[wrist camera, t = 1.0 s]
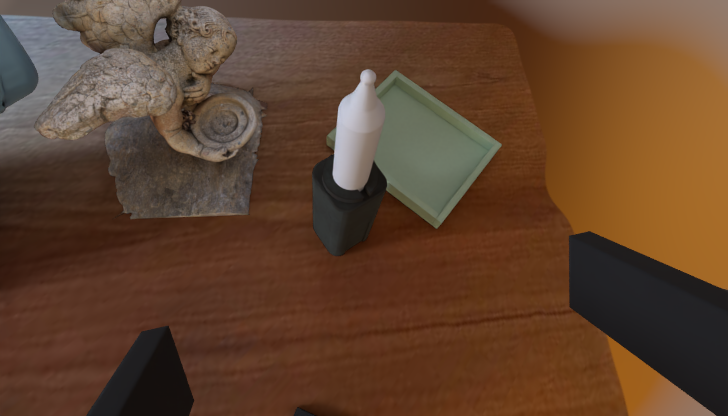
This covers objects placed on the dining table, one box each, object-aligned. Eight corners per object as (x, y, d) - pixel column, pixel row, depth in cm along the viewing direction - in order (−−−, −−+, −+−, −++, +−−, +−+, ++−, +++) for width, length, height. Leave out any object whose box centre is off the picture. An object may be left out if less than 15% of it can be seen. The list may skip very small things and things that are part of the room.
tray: (326, 144, 48) (326, 135, 46) (392, 80, 53) (395, 69, 51) (436, 229, 45) (441, 223, 43) (495, 152, 50) (502, 144, 48)
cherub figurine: (261, 218, 43) (229, 125, 27) (85, 219, 41) (-71, 119, 24) (268, 87, 50) (245, -52, 33) (116, 82, 47) (11, -69, 31)
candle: (346, 200, 45) (379, 23, 22) (372, 235, 44) (435, 86, 21) (309, 222, 43) (301, 57, 21) (334, 260, 42) (357, 128, 19)
